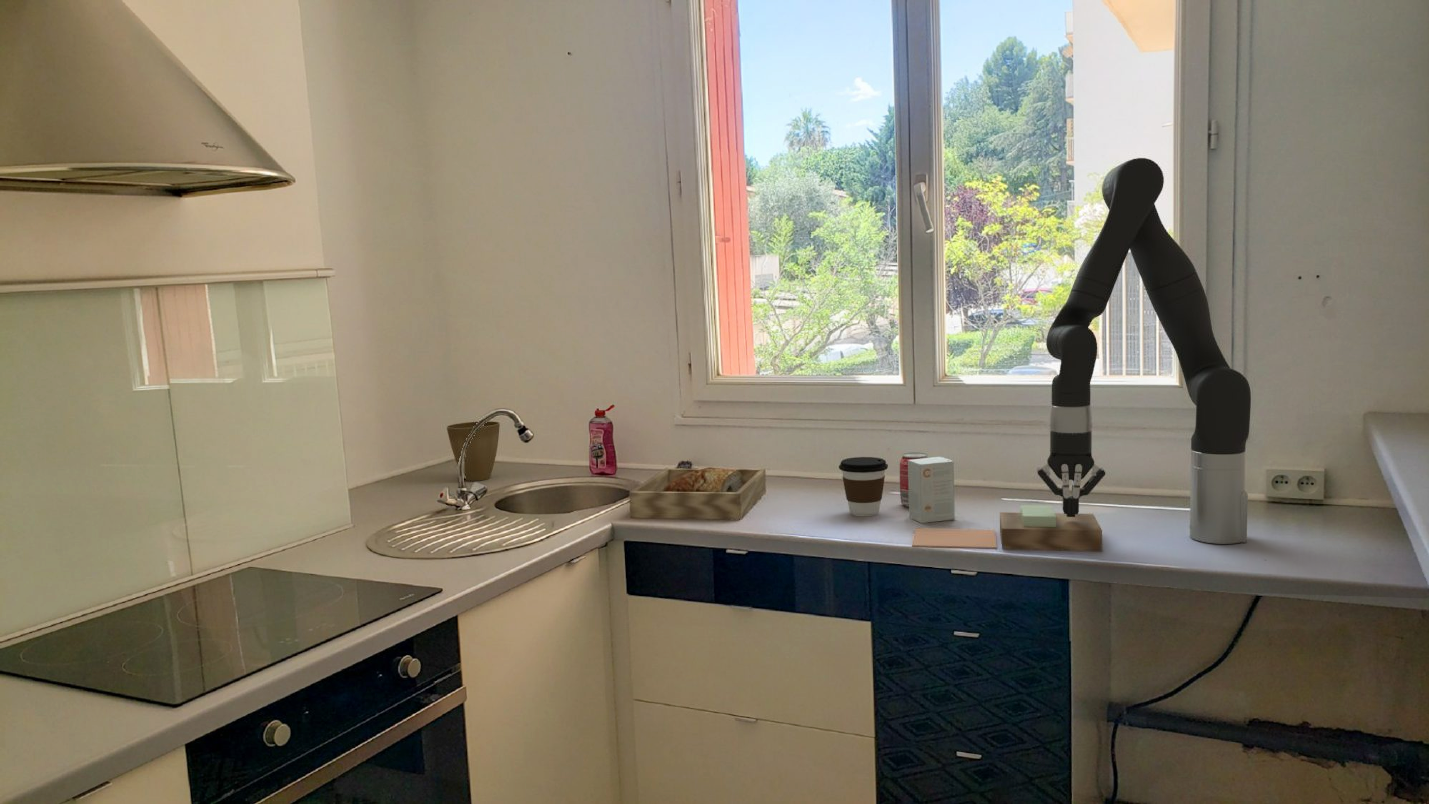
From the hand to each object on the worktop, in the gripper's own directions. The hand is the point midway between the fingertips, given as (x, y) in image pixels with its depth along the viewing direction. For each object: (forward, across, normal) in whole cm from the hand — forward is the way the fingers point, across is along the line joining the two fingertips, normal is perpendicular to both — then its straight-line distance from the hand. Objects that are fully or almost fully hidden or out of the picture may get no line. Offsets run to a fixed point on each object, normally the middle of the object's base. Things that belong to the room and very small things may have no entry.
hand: (1070, 516), depth 189 cm
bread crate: (+5, +82, -27) cm, 86 cm away
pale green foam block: (+1, +6, 0) cm, 6 cm away
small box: (+5, +27, -17) cm, 32 cm away
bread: (+6, +82, -25) cm, 86 cm away
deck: (+5, +4, 0) cm, 6 cm away
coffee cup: (+5, +42, -21) cm, 47 cm away
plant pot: (+6, +157, -55) cm, 166 cm away
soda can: (+5, +31, -29) cm, 43 cm away
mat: (+5, +22, 0) cm, 23 cm away
